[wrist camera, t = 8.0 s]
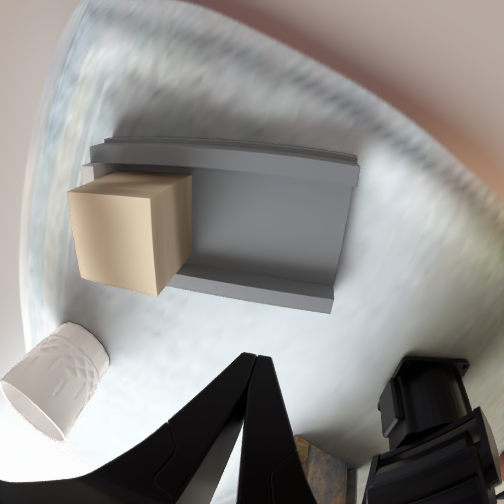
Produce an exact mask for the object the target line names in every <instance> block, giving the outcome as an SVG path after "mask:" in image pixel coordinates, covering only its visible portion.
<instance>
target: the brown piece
mask: <svg viewBox="0 0 504 504" xmlns="http://www.w3.org/2000/svg"><path fill="white" fill-rule="evenodd" d="M294 439H295V443H296V446H297V451H298V453H299V456H300V460H301V463H302V466H303V469H304V472H305V475H306V478H307V481H308V483H309V485H310V488H311V490H312V492H313V495H314V497H315V499H316V501H317V503H318V504H356V502H357V470H358V469H357V468H355V469H352V470H349V471H347V463H345V462H343V461H341V460H339V459H337V458H335V457H333V456H331V455H330V454H328V453H326V452H324V451H322V450H320V449H319V448H317V447H315V446H313V445H312V444H311V443H309V442H307V441H305V440H304V439H302V438H300V437H299V436H297V435H294Z"/></svg>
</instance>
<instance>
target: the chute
mask: <svg viewBox="0 0 504 504" xmlns="http://www.w3.org/2000/svg"><path fill="white" fill-rule="evenodd" d="M90 158H91V163H89V164H86V165H83V166H80V167H81V181H82V185H84V184H87V183H89V182H91V181H94V180H96V179H98V178H101V177H103V176H106V175H108V174H111V173H113V172H116V171H118V170H132V171H152V172H168V173H182V174H192V254H191V255H190V257H189V258H188V259H187V260H186V262H185V263H184V264H183V265H182V266H181V268H180V269H179V270H178V271H177V273H176V274H175V275H174V276H173V277H172V279H171V280H170V281H169V282H168V284H167V285H166V286H170V287H175V288H180V289H185V290H190V291H195V292H200V293H206V294H211V295H216V296H222V297H227V298H233V299H239V300H244V301H250V302H256V303H262V304H268V305H274V306H281V307H287V308H293V309H300V310H307V311H313V312H320V313H327V314H330V313H331V309H332V305H333V301H334V292H333V285H334V280H335V276H336V271H337V267H338V262H339V257H340V253H341V248H342V243H343V238H344V233H345V227H346V222H347V217H348V211H349V205H350V200H351V194H352V188H353V186H355V187H357V184H358V178H359V172H360V166H359V165H358V163H357V157H356V156H355V155H351V154H345V153H339V152H332V151H326V150H319V149H311V148H304V147H296V146H288V145H279V144H270V143H259V142H248V141H236V140H221V139H204V138H177V137H112V138H107V139H104V143H102V144H98V145H95V146H91V147H90Z"/></svg>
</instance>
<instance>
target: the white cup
mask: <svg viewBox="0 0 504 504" xmlns="http://www.w3.org/2000/svg"><path fill="white" fill-rule="evenodd" d="M108 368H109V357H108V355H107V353H106V351H105V349H104V347H103V346H102V344H101V343H100V342H99V341H98V340H97V339H96V338H95V337H94V336H93V334H91V333H90V332H89V331H87V330H86V329H84V328H83V327H82V326H80V325H77V324H74V323H71V322H68V323H63V324H61V325H60V326H59V327H58V328H56V329H55V330H54V331H53V332H52V333H51V334H50V335H49V336H48V337H46V338H45V339H43V340H42V341H41V342H40V343H39V344H38V345H37V346H36V347H35V348H33V349H32V350H31V351H30V352H29V353H28V354H27V355H25V356H24V357H23V359H21V360H20V361H19V362H18V363H17V365H15V366H14V367H13V368H12V369H11V370H10V371H9V372H8V373H7V374H6V375H5V376H4V377H3V378H2V379H1V380H0V388H1V391H2V393H3V394H4V396H5V397H6V399H7V400H8V401H9V403H10V404H11V405H12V407H13V408H14V409H15V410H16V411H17V412H18V413H19V414H20V415H21V416H22V417H23V418H24V419H25V420H26V421H27V422H28V423H29V424H30V425H32V426H33V427H34V428H35V429H37V430H38V431H40V432H41V433H42V434H44V435H45V436H47V437H49V438H50V439H52V440H54V441H57V442H60V443H64V442H66V440H67V438H68V436H69V435H70V433H71V431H72V430H73V428H74V426H75V425H76V423H77V421H78V420H79V418H80V416H81V415H82V413H83V411H84V410H85V408H86V406H87V405H88V403H89V401H90V400H91V398H92V396H93V394H94V392H95V391H96V389H97V386H98V384H99V382H100V381H101V379H102V377H103V376H104V374H105V373H106V371H107V370H108Z"/></svg>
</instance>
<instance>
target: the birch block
mask: <svg viewBox="0 0 504 504" xmlns="http://www.w3.org/2000/svg"><path fill="white" fill-rule="evenodd" d="M68 201H69V209H70V217H71V224H72V231H73V237H74V243H75V249H76V254H77V259H78V265H79V269H80V274H81V278H83V279H87V280H91V281H94V282H98V283H102V284H106V285H111V286H115V287H119V288H123V289H127V290H131V291H136V292H140V293H144V294H149V295H153V296H158V295H159V294H160V292H161V291H162V290H163V289H164V287H165V286H166V285H167V284H168V282H169V281H170V280H171V279H172V277H173V276H174V275H175V274H176V273H177V271H178V270H179V269H180V268H181V266H182V265H183V264H184V263H185V262H186V260H187V259H188V258H189V257H190V255H191V254H192V174H182V173H168V172H152V171H132V170H118V171H116V172H113V173H111V174H108V175H106V176H103V177H101V178H98V179H96V180H94V181H91V182H89V183H87V184H84V185H82V186H80V187H77V188H75V189H73V190H71V191H68Z"/></svg>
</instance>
